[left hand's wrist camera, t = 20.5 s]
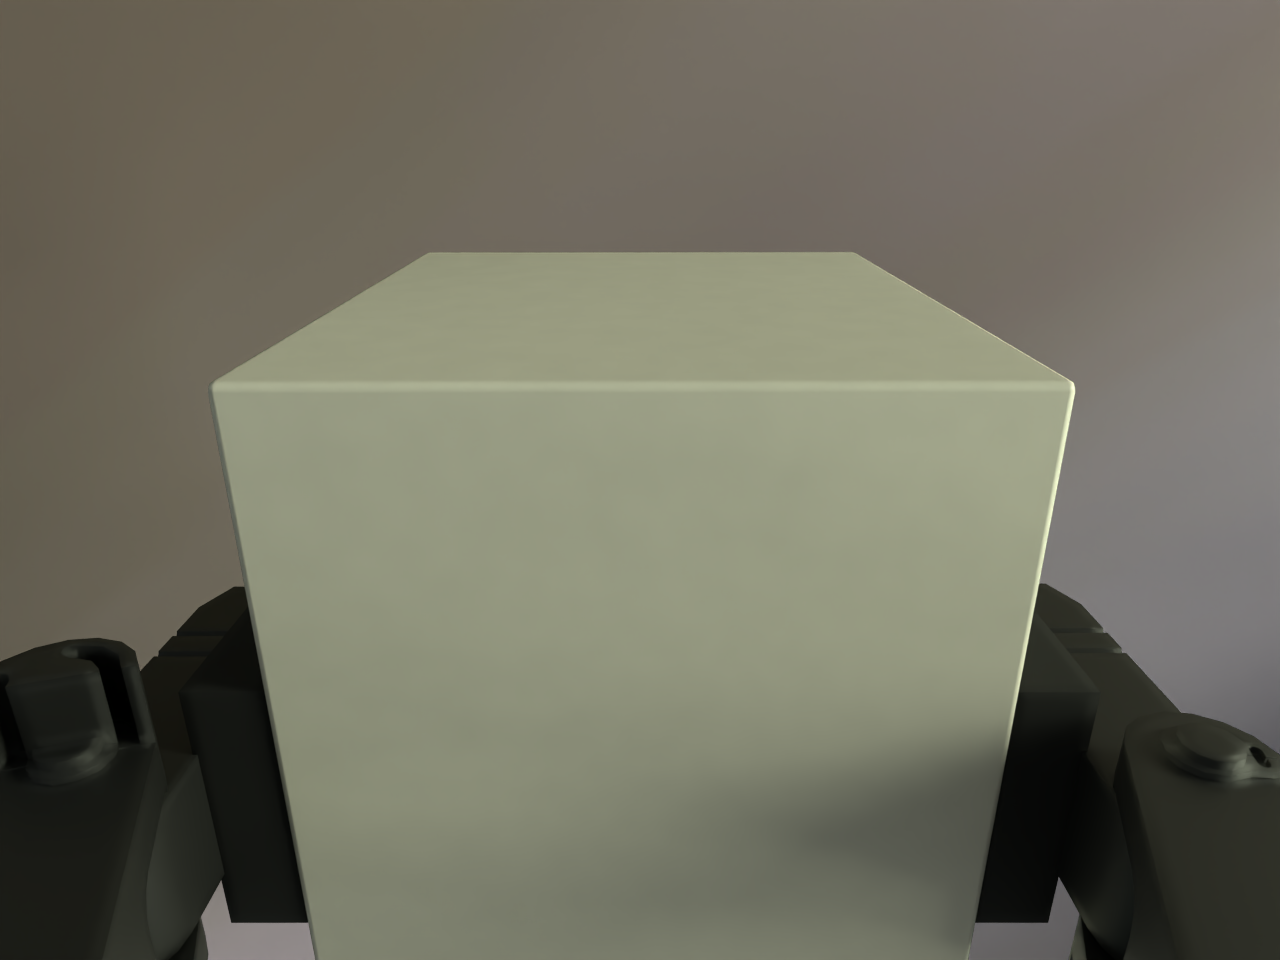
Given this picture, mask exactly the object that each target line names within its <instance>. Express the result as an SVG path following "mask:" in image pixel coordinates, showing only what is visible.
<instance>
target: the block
mask: <svg viewBox="0 0 1280 960" xmlns="http://www.w3.org/2000/svg"><path fill="white" fill-rule="evenodd" d="M1074 395H1075V387H1074V383H1073V382H1072V381H1070V380H1068V379H1067V378H1065V377H1063V376H1062V375H1060V374H1058V373H1057V372H1055V371H1053V370H1051V369H1050V368H1048V367H1046V366H1045V365H1043V364H1041V363H1040V362H1038V361H1036V360H1035V359H1033V358H1031V357H1030V356H1028V355H1026V354H1024V353H1023V352H1021V351H1019V350H1018V349H1016V348H1014V347H1013V346H1011V345H1009V344H1008V343H1006V342H1004V341H1003V340H1001V339H999V338H997V337H996V336H994V335H992V334H991V333H989V332H987V331H986V330H984V329H982V328H981V327H979V326H977V325H976V324H974V323H972V322H970V321H969V320H967V319H965V318H964V317H962V316H960V315H959V314H957V313H955V312H954V311H952V310H950V309H948V308H947V307H945V306H943V305H942V304H940V303H938V302H937V301H935V300H933V299H932V298H930V297H928V296H927V295H925V294H923V293H921V292H920V291H918V290H916V289H915V288H913V287H911V286H910V285H908V284H906V283H905V282H903V281H901V280H900V279H898V278H896V277H894V276H893V275H891V274H889V273H888V272H886V271H884V270H883V269H881V268H879V267H878V266H876V265H874V264H873V263H871V262H869V261H867V260H866V259H864V258H862V257H861V256H859V255H857V254H855V253H853V252H576V253H427V254H425V255H423V256H422V257H420V258H418V259H417V260H415V261H413V262H412V263H410V264H408V265H407V266H405V267H403V268H402V269H400V270H398V271H397V272H395V273H393V274H392V275H390V276H388V277H387V278H385V279H383V280H382V281H380V282H378V283H377V284H375V285H373V286H372V287H370V288H368V289H367V290H365V291H363V292H362V293H360V294H358V295H357V296H355V297H353V298H352V299H350V300H348V301H347V302H345V303H343V304H342V305H340V306H338V307H336V308H335V309H333V310H331V311H330V312H328V313H326V314H325V315H323V316H321V317H320V318H318V319H316V320H315V321H313V322H311V323H310V324H308V325H306V326H305V327H303V328H301V329H300V330H298V331H296V332H295V333H293V334H291V335H290V336H288V337H286V338H285V339H283V340H281V341H280V342H278V343H276V344H275V345H273V346H271V347H270V348H268V349H266V350H265V351H263V352H261V353H260V354H258V355H256V356H255V357H253V358H251V359H250V360H248V361H246V362H245V363H243V364H241V365H239V366H238V367H236V368H234V369H233V370H231V371H229V372H228V373H226V374H224V375H223V376H221V377H219V378H218V379H216V380H214V381H213V382H211V383H210V384H209V388H208V396H209V401H210V406H211V412H212V417H213V422H214V428H215V433H216V438H217V443H218V449H219V454H220V459H221V464H222V470H223V475H224V480H225V486H226V491H227V496H228V501H229V507H230V512H231V517H232V522H233V528H234V533H235V538H236V543H237V549H238V554H239V559H240V565H241V570H242V575H243V580H244V586H245V591H246V596H247V601H248V607H249V612H250V617H251V623H252V628H253V633H254V638H255V644H256V649H257V654H258V659H259V665H260V670H261V675H262V681H263V686H264V691H265V696H266V702H267V707H268V712H269V717H270V723H271V728H272V733H273V739H274V744H275V749H276V754H277V760H278V765H279V770H280V775H281V781H282V786H283V791H284V797H285V802H286V807H287V812H288V818H289V823H290V828H291V833H292V839H293V844H294V849H295V855H296V860H297V865H298V870H299V876H300V881H301V886H302V891H303V897H304V902H305V907H306V913H307V918H308V923H309V928H310V934H311V939H312V944H313V949H314V955H315V960H968V957H969V952H970V947H971V941H972V936H973V931H974V925H975V920H976V915H977V909H978V904H979V899H980V894H981V888H982V883H983V878H984V872H985V867H986V862H987V856H988V851H989V846H990V841H991V835H992V830H993V825H994V819H995V814H996V809H997V803H998V798H999V793H1000V787H1001V782H1002V777H1003V772H1004V766H1005V761H1006V756H1007V750H1008V745H1009V740H1010V734H1011V729H1012V724H1013V719H1014V713H1015V708H1016V703H1017V697H1018V692H1019V687H1020V681H1021V676H1022V671H1023V665H1024V660H1025V655H1026V650H1027V644H1028V639H1029V634H1030V628H1031V623H1032V618H1033V612H1034V607H1035V602H1036V597H1037V591H1038V586H1039V581H1040V575H1041V570H1042V565H1043V559H1044V554H1045V549H1046V544H1047V538H1048V533H1049V528H1050V522H1051V517H1052V512H1053V506H1054V501H1055V496H1056V490H1057V485H1058V480H1059V475H1060V469H1061V464H1062V459H1063V453H1064V448H1065V443H1066V437H1067V432H1068V427H1069V422H1070V416H1071V411H1072V406H1073V400H1074Z"/></svg>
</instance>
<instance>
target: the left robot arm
mask: <svg viewBox="0 0 1280 960" xmlns="http://www.w3.org/2000/svg"><path fill="white" fill-rule="evenodd" d="M1058 877H1059V878H1060V879H1061V881H1062V883H1063V885H1064V887H1065V888H1066V890H1067V892H1068V894H1069V896H1070V897H1071V899H1072V901H1073V903H1074V905H1075V906H1076V908H1077V910H1078V912H1079V913H1080V916H1079V920H1078V924H1077V928H1076V932H1075V936H1074V940H1073V944H1072V948H1071V952H1070V956H1069V960H1280V755H1279V754H1278V753H1276V752H1275V751H1274V750H1272V749H1271V748H1269V747H1268V746H1266V745H1265V744H1264V743H1262V742H1261V741H1259V740H1258V739H1257V738H1255V737H1254V736H1252V735H1250V734H1247V733H1245V732H1243V731H1241V730H1239V729H1236V728H1234V727H1232V726H1230V725H1228V724H1226V723H1223V722H1220V721H1216V720H1213V719H1209V718H1205V717H1201V716H1198V715H1194V714H1188V713H1181V712H1180V711H1179V710H1178V709H1177V708H1176V707H1175V706H1174V705H1173V703H1172V702H1171V701H1170V700H1169V699H1168V698H1167V697H1166V696H1165V695H1164V694H1163V693H1162V692H1161V690H1160V689H1159V688H1158V687H1157V686H1156V685H1155V684H1154V683H1153V682H1152V681H1151V680H1150V679H1149V677H1148V676H1147V675H1146V674H1145V673H1144V672H1143V671H1142V670H1141V669H1140V668H1139V667H1138V666H1137V664H1136V663H1135V662H1134V661H1133V660H1132V659H1131V658H1130V657H1129V656H1128V655H1127V654H1126V653H1122V651H1121V647H1120V646H1119V645H1118V644H1117V643H1116V642H1115V641H1114V640H1113V638H1112V637H1111V636H1110V635H1109V634H1108V633H1103V628H1102V627H1101V625H1100V624H1099V623H1098V622H1097V621H1096V620H1095V619H1094V618H1093V617H1092V616H1091V615H1090V614H1089V612H1088V611H1087V610H1086V609H1085V608H1084V607H1083V606H1082V605H1081V604H1080V603H1078V602H1076V601H1074V600H1073V599H1071V598H1069V597H1068V596H1066V595H1064V594H1062V593H1061V592H1059V591H1057V590H1056V589H1054V588H1052V587H1050V586H1049V585H1047V584H1039V586H1038V591H1037V597H1036V602H1035V607H1034V612H1033V618H1032V623H1031V628H1030V634H1029V639H1028V644H1027V650H1026V655H1025V660H1024V665H1023V671H1022V676H1021V681H1020V687H1019V692H1018V697H1017V703H1016V708H1015V713H1014V719H1013V724H1012V729H1011V734H1010V740H1009V745H1008V750H1007V756H1006V761H1005V766H1004V772H1003V777H1002V782H1001V787H1000V793H999V798H998V803H997V809H996V814H995V819H994V825H993V830H992V835H991V841H990V846H989V851H988V856H987V862H986V867H985V872H984V878H983V883H982V888H981V894H980V899H979V904H978V909H977V915H976V920H975V923H1048V920H1049V916H1050V912H1051V907H1052V903H1053V899H1054V894H1055V890H1056V886H1057V881H1058ZM221 880H222V884H223V889H224V893H225V897H226V901H227V906H228V910H229V914H230V919H231V923H308V918H307V913H306V907H305V902H304V897H303V891H302V886H301V881H300V876H299V870H298V865H297V860H296V855H295V849H294V844H293V839H292V833H291V828H290V823H289V818H288V812H287V807H286V802H285V797H284V791H283V786H282V781H281V775H280V770H279V765H278V760H277V754H276V749H275V744H274V739H273V733H272V728H271V723H270V717H269V712H268V707H267V702H266V696H265V691H264V686H263V681H262V675H261V670H260V665H259V659H258V654H257V649H256V644H255V638H254V633H253V628H252V623H251V617H250V612H249V607H248V601H247V596H246V591H245V587H233V588H231V589H229V590H228V591H226V592H224V593H223V594H221V595H219V596H218V597H216V598H214V599H212V600H211V601H209V602H207V603H206V604H204V605H202V606H200V607H199V608H198V609H197V610H196V611H195V612H194V613H193V614H192V616H191V617H190V618H189V619H188V620H187V621H186V622H185V623H184V624H183V625H182V626H181V628H180V629H179V630H178V631H177V636H172V637H171V638H170V640H169V641H168V642H167V643H166V644H165V645H164V646H163V647H162V648H161V649H160V650H159V655H158V657H153V658H152V659H151V660H150V661H149V662H148V664H147V665H146V666H145V667H144V668H143V669H142V670H141V671H140V669H139V665H138V661H137V657H136V653H135V651H134V650H133V649H131V648H130V647H128V646H127V645H126V644H124V643H123V642H120V641H114V640H108V639H102V638H90V639H76V640H66V641H62V642H58V643H54V644H49V645H45V646H41V647H36V648H33V649H31V650H28V651H26V652H23V653H21V654H18V655H16V656H13V657H11V658H8V659H5V660H3V661H1V662H0V960H208V949H207V942H206V936H205V932H204V928H203V924H202V920H201V915H202V914H203V912H204V910H205V908H206V906H207V905H208V903H209V901H210V899H211V897H212V896H213V894H214V892H215V890H216V888H217V887H218V885H219V883H220V881H221Z"/></svg>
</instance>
